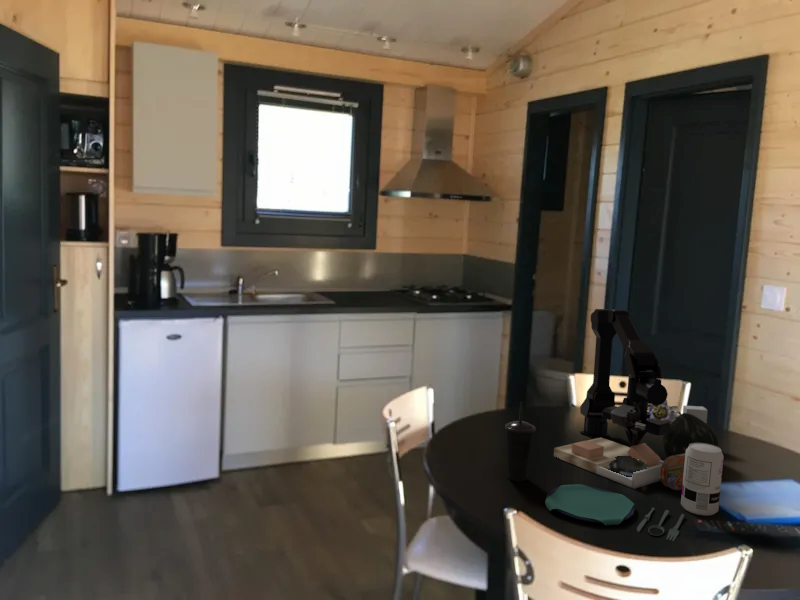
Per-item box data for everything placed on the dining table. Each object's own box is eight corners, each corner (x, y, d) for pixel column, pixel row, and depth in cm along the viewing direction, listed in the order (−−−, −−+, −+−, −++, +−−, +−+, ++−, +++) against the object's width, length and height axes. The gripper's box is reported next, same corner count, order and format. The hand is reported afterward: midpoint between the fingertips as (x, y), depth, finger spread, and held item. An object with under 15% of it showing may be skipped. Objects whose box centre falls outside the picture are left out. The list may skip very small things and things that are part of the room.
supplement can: (674, 502, 172) (679, 441, 170) (707, 502, 172) (713, 442, 171) (690, 516, 164) (696, 453, 162) (725, 516, 164) (731, 453, 163)
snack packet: (666, 492, 178) (669, 459, 177) (656, 488, 181) (659, 455, 180) (707, 484, 185) (710, 452, 184) (697, 480, 187) (700, 448, 186)
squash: (729, 442, 203) (694, 398, 205) (728, 459, 190) (691, 413, 192) (686, 466, 209) (653, 424, 211) (682, 485, 196) (647, 440, 198)
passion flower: (656, 448, 230) (635, 416, 230) (661, 433, 239) (642, 403, 239) (688, 435, 223) (666, 403, 224) (692, 421, 233) (672, 389, 233)
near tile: (571, 452, 198) (572, 443, 197) (586, 448, 201) (586, 440, 201) (588, 458, 193) (589, 449, 192) (603, 455, 196) (603, 446, 196)
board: (553, 456, 201) (554, 447, 201) (600, 445, 213) (601, 437, 212) (596, 473, 189) (596, 464, 189) (643, 460, 200) (643, 452, 200)
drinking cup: (534, 475, 186) (539, 400, 183) (529, 485, 179) (534, 407, 176) (505, 470, 188) (509, 396, 186) (499, 480, 181) (503, 403, 179)
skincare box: (700, 444, 217) (703, 406, 216) (704, 449, 213) (708, 410, 212) (679, 443, 218) (683, 405, 216) (683, 447, 214) (687, 408, 212)
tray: (596, 473, 189) (597, 458, 188) (643, 460, 200) (644, 447, 200) (634, 488, 179) (635, 473, 179) (681, 474, 191) (682, 460, 190)
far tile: (627, 453, 196) (631, 446, 195) (640, 449, 200) (644, 442, 199) (642, 468, 192) (647, 462, 191) (656, 464, 196) (660, 458, 195)
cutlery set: (562, 485, 180) (563, 477, 179) (688, 518, 164) (689, 509, 164) (533, 513, 163) (533, 503, 163) (670, 552, 147) (671, 542, 147)
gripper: (591, 390, 199) (586, 444, 201) (648, 407, 183) (643, 466, 185) (617, 386, 205) (612, 438, 207) (674, 402, 190) (669, 459, 192)
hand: (632, 450), depth 198 cm, fingers closed
